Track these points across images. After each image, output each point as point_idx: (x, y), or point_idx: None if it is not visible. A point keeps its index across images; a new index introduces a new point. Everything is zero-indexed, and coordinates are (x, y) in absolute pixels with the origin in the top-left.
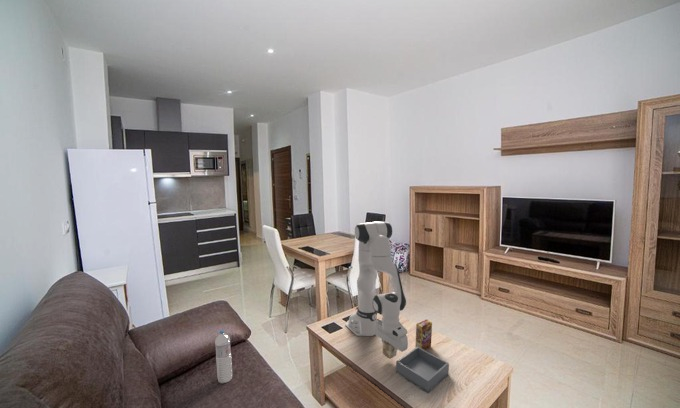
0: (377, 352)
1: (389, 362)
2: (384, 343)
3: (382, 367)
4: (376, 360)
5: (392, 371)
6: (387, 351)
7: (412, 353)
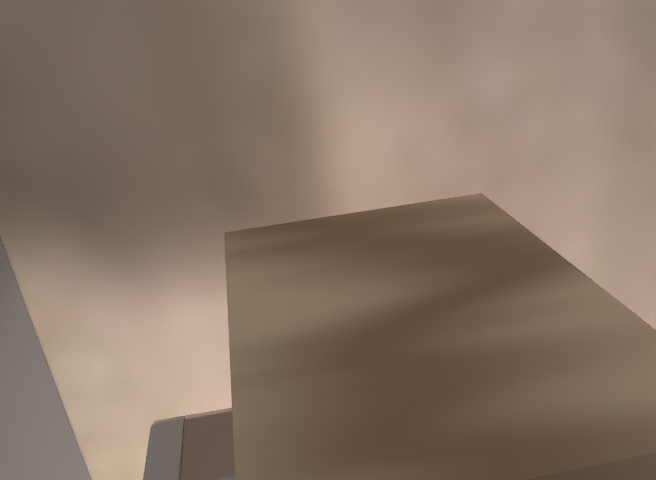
0: (651, 218)
1: None
2: (650, 422)
3: (264, 5)
4: (508, 45)
5: (41, 114)
6: (355, 300)
7: None
